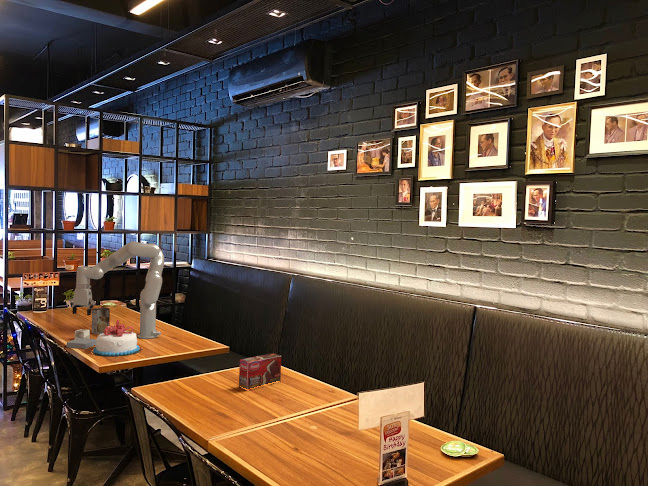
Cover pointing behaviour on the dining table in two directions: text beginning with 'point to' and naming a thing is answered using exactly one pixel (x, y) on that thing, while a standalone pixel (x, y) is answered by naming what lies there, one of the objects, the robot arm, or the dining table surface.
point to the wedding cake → (116, 342)
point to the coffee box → (100, 319)
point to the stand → (81, 343)
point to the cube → (82, 334)
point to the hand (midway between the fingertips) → (81, 314)
